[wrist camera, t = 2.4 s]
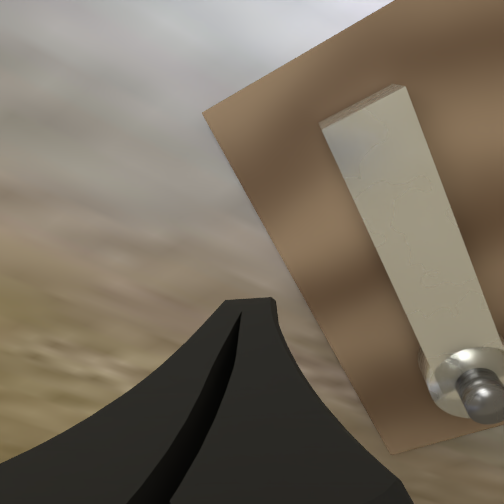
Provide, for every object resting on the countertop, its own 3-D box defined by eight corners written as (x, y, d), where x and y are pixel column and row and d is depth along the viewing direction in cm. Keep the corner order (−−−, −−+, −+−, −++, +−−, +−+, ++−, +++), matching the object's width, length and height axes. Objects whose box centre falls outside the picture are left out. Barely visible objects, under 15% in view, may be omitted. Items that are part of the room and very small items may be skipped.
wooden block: (515, 372, 20) (555, 427, 17) (433, 397, 21) (456, 453, 18) (405, 76, 15) (433, 79, 12) (307, 128, 16) (309, 143, 13)
